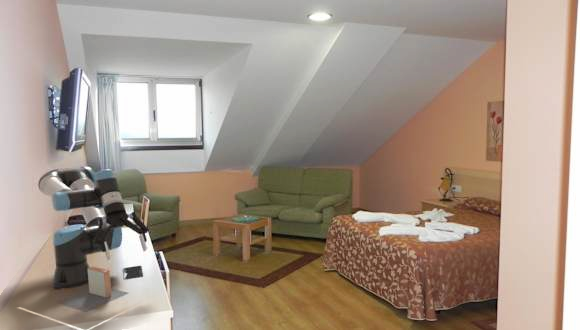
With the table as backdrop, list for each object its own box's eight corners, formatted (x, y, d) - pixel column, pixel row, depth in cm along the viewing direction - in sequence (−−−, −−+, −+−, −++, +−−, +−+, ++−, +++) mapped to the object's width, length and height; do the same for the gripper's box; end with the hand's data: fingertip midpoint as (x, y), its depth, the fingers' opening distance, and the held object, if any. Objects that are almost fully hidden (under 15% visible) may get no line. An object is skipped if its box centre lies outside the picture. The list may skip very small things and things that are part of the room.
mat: (55, 303, 157) (55, 302, 157) (99, 286, 172) (98, 284, 172) (86, 313, 148) (86, 312, 148) (129, 294, 163) (129, 292, 163)
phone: (123, 279, 177) (123, 268, 191) (123, 282, 177) (123, 270, 191) (143, 276, 180) (141, 265, 194) (143, 278, 180) (141, 267, 194)
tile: (89, 293, 164) (86, 268, 163) (94, 291, 166) (92, 266, 165) (106, 298, 159) (103, 272, 158) (111, 295, 161) (109, 270, 160)
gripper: (80, 207, 160) (94, 259, 152) (146, 195, 175) (161, 243, 167) (78, 215, 165) (91, 266, 158) (142, 204, 180) (157, 250, 173)
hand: (127, 254), depth 163 cm, fingers open, 13 cm apart
